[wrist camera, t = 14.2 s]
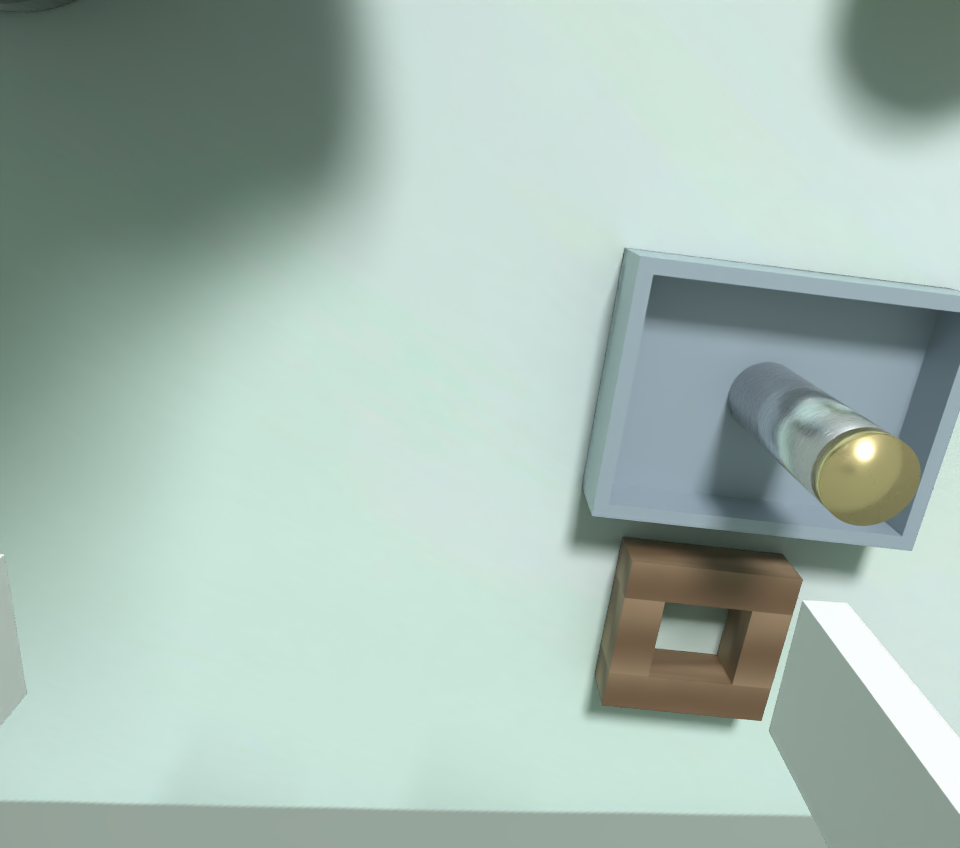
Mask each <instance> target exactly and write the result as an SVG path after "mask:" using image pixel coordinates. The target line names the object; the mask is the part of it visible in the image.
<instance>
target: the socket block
mask: <svg viewBox="0 0 960 848" xmlns="http://www.w3.org/2000/svg"><path fill="white" fill-rule="evenodd" d="M802 581H803V579H802V578H801V577H800V575H799V574H798V573H797V572H796V570H795V569H794V568H793V567H792V565H791V564H790V563H789V562H788V560H787V559H786V558H785V557H784V555H783V554H774V553H765V552H755V551H746V550H737V549H728V548H718V547H709V546H700V545H691V544H681V543H672V542H663V541H654V540H644V539H635V538H626V537H623V538H622V543H621V548H620V553H619V558H618V563H617V567H616V572H615V577H614V582H613V587H612V592H611V597H610V602H609V607H608V612H607V617H606V622H605V627H604V632H603V637H602V642H601V646H600V651H599V656H598V661H597V666H596V671H595V677H596V681H597V686H598V690H599V694H600V698H601V702H602V705H604V706H614V707H624V708H634V709H645V710H655V711H665V712H675V713H685V714H696V715H706V716H716V717H726V718H736V719H747V720H757V721H761V720H762V717H763V714H764V710H765V707H766V703H767V700H768V697H769V693H770V690H771V686H772V683H773V680H774V676H775V673H776V669H777V666H778V662H779V659H780V656H781V652H782V649H783V645H784V642H785V639H786V635H787V632H788V628H789V625H790V622H791V618H792V615H793V611H794V608H795V604H796V601H797V598H798V594H799V591H800V587H801V584H802ZM665 602H669V603H679V604H688V605H698V606H707V607H717V608H727V609H729V612H728V616H727V619H726V623H725V627H724V631H723V635H722V639H721V642H720V646H719V650H718V654H717V655H714V654H704V653H694V652H685V651H675V650H665V649H655V644H656V640H657V636H658V631H659V627H660V623H661V618H662V614H663V610H664V605H665Z"/></svg>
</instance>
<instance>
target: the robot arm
mask: <svg viewBox="0 0 960 848" xmlns="http://www.w3.org/2000/svg"><path fill="white" fill-rule="evenodd" d="M72 1H75V0H0V10H3V11H13V12H28V11H39V10H46V9H51V8H55V7H58V6H62V5H64V4H67V3H70V2H72ZM26 694H27V691H26V685H25V679H24V673H23V667H22V660H21V654H20V648H19V642H18V636H17V630H16V623H15V617H14V611H13V605H12V599H11V593H10V587H9V580H8V574H7V568H6V562H5V556H4V555H3V554H0V726H1V725H2V724H3V723H4V721H5V720H6V719H7V718H8V716H9V715H10V714H11V713H12V711H13V710H14V709H15V708H16V707H17V705H18V704H19V703H20V702H21V700H22V699H23V698H24V697H25V695H26ZM769 733H770V735H771V737H772V738H773V740H774V742H775V744H776V746H777V748H778V750H779V752H780V754H781V756H782V758H783V760H784V762H785V764H786V766H787V768H788V770H789V772H790V774H791V776H792V777H793V779H794V781H795V783H796V785H797V787H798V789H799V791H800V793H801V795H802V797H803V799H804V801H805V803H806V805H807V807H808V809H809V811H810V813H811V815H812V817H813V818H814V820H815V822H816V824H817V826H818V828H819V830H820V832H821V834H822V836H823V838H824V840H825V842H826V844H827V846H828V848H960V739H959V737H958V736H957V735H956V734H955V733H954V731H953V730H952V729H951V728H950V726H949V725H948V724H947V723H946V722H945V720H944V719H943V718H942V717H941V716H940V714H939V713H938V712H937V711H936V710H935V708H934V707H933V706H932V705H931V704H930V702H929V701H928V700H927V699H926V698H925V696H924V695H923V694H922V693H921V691H920V690H919V689H918V688H917V687H916V685H915V684H914V683H913V682H912V681H911V679H910V678H909V677H908V676H907V675H906V673H905V672H904V671H903V670H902V669H901V667H900V666H899V665H898V664H897V662H896V661H895V660H894V659H893V658H892V656H891V655H890V654H889V653H888V652H887V650H886V649H885V648H884V647H883V646H882V644H881V643H880V642H879V641H878V640H877V638H876V637H875V636H874V635H873V634H872V632H871V631H870V630H869V629H868V627H867V626H866V625H865V624H864V623H863V621H862V620H861V619H860V618H859V617H858V615H857V614H856V613H855V612H854V611H853V609H852V608H851V607H850V606H849V605H848V603H841V602H823V601H806V600H802V604H801V608H800V612H799V616H798V620H797V623H796V627H795V631H794V635H793V639H792V643H791V647H790V650H789V654H788V658H787V662H786V666H785V670H784V674H783V678H782V681H781V685H780V689H779V693H778V697H777V701H776V705H775V708H774V712H773V716H772V720H771V724H770V728H769Z"/></svg>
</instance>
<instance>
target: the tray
mask: <svg viewBox="0 0 960 848" xmlns="http://www.w3.org/2000/svg"><path fill="white" fill-rule="evenodd" d="M762 362H774V363H778V364H781V365H783V366H785V367H787V368H789V369H790V370H792V371H793V372H795V373H796V374H798V375H800V376H801V377H803V378H804V379H806V380H807V381H809V382H811V383H812V384H814V385H815V386H817V387H818V388H820V389H821V390H823V391H825V392H826V393H828V394H829V395H831V396H832V397H834V398H836V399H837V400H839V401H840V402H842V403H843V404H845V405H847V406H848V407H850V408H851V409H853V410H854V411H856V412H857V413H859V414H861V415H862V416H864V417H865V418H867V419H868V420H870V421H872V422H873V423H875V424H876V425H878V426H879V427H881V428H883V429H884V430H886V431H887V432H889V433H890V434H892V435H894V436H895V437H897V438H898V439H900V440H901V441H903V442H904V443H906V444H907V445H908V446H909V447H910V448H911V449H912V450H913V451H914V452H915V454H916V456H917V458H918V461H919V464H920V470H921V476H920V483H919V486H918V489H917V491H916V494H915V495H914V497H913V499H912V500H911V502H910V503H909V504H908V505H907V506H906V507H905V508H904V509H903V510H902V511H901V512H900V513H899V514H897V515H896V516H894V517H893V518H891V519H889V520H887V521H884V522H882V523H879V524H875V525H870V526H856V525H851V524H847V523H845V522H843V521H840V520H839V519H837V518H836V517H835V516H833V515H832V514H831V513H830V512H829V511H828V510H827V509H826V508H825V507H824V506H823V505H822V504H821V503H820V502H819V501H818V500H817V499H816V498H815V497H814V496H813V495H812V494H811V493H810V492H809V491H808V490H806V489H805V488H804V487H803V486H802V485H801V484H800V483H799V482H798V481H797V480H796V479H795V478H794V477H793V476H792V475H791V474H790V473H789V472H788V471H787V470H786V469H785V468H784V467H783V466H782V465H781V464H780V463H779V462H778V461H777V460H776V459H774V458H773V457H772V456H771V455H770V454H769V453H768V452H767V451H766V450H765V449H764V448H763V447H762V446H761V445H760V444H759V443H758V442H757V441H756V440H755V439H754V438H753V437H752V436H751V435H750V434H749V433H748V432H747V431H746V430H745V429H744V428H742V427H741V426H740V425H739V424H738V423H737V422H736V421H735V419H734V418H733V417H732V415H731V413H730V411H729V407H728V394H729V390H730V387H731V385H732V383H733V382H734V380H735V379H736V377H737V376H738V375H739V374H740V373H741V372H742V371H744V370H745V369H746V368H748V367H750V366H752V365H754V364H757V363H762ZM959 411H960V291H958V290H954V289H950V288H942V287H934V286H926V285H918V284H910V283H902V282H894V281H886V280H878V279H870V278H862V277H854V276H846V275H838V274H830V273H822V272H814V271H806V270H798V269H790V268H782V267H774V266H766V265H758V264H750V263H742V262H734V261H726V260H718V259H710V258H702V257H694V256H686V255H678V254H670V253H662V252H654V251H646V250H638V249H630V248H625V250H624V256H623V261H622V267H621V272H620V278H619V284H618V289H617V295H616V300H615V306H614V312H613V317H612V323H611V328H610V334H609V339H608V345H607V351H606V356H605V362H604V367H603V373H602V378H601V384H600V390H599V395H598V401H597V406H596V412H595V418H594V423H593V429H592V434H591V440H590V445H589V451H588V457H587V462H586V468H585V473H584V479H583V485H582V488H583V491H584V494H585V497H586V500H587V503H588V506H589V509H590V512H591V515H592V516H596V517H605V518H614V519H624V520H633V521H642V522H651V523H660V524H669V525H679V526H688V527H697V528H706V529H715V530H724V531H734V532H743V533H752V534H761V535H770V536H779V537H789V538H798V539H807V540H816V541H825V542H835V543H844V544H853V545H862V546H871V547H880V548H890V549H899V550H908V551H912V549H913V546H914V543H915V540H916V537H917V534H918V531H919V529H920V526H921V523H922V520H923V517H924V514H925V511H926V508H927V505H928V502H929V499H930V496H931V493H932V490H933V487H934V485H935V482H936V479H937V476H938V473H939V470H940V467H941V464H942V461H943V458H944V455H945V452H946V449H947V446H948V443H949V441H950V438H951V435H952V432H953V429H954V426H955V423H956V420H957V417H958V414H959Z"/></svg>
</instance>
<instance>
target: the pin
mask: <svg viewBox="0 0 960 848" xmlns="http://www.w3.org/2000/svg"><path fill="white" fill-rule="evenodd" d="M728 407H729V411H730V413H731V415H732V417H733V418H734V419H735V421H736V422H737V423H738V424H739V425H740V426H741V427H742V428H744V429H745V430H746V431H747V432H748V433H749V434H750V435H751V436H752V437H753V438H754V439H755V440H756V441H757V442H758V443H759V444H760V445H761V446H762V447H763V448H764V449H765V450H766V451H767V452H768V453H769V454H770V455H771V456H772V457H773V458H774V459H776V460H777V461H778V462H779V463H780V464H781V465H782V466H783V467H784V468H785V469H786V470H787V471H788V472H789V473H790V474H791V475H792V476H793V477H794V478H795V479H796V480H797V481H798V482H799V483H800V484H801V485H802V486H803V487H804V488H805V489H806V490H808V491H809V492H810V493H811V494H812V495H813V496H814V497H815V498H816V499H817V500H818V501H819V502H820V503H821V504H822V505H823V506H824V507H825V508H826V509H827V510H828V511H829V512H830V513H831V514H832V515H833V516H835V517H836V518H837V519H839V520H840V521H843V522H845V523H847V524H851V525H856V526H870V525H875V524H879V523H882V522H884V521H887V520H889V519H891V518H893V517H894V516H896V515H897V514H899V513H900V512H901V511H902V510H903V509H904V508H905V507H906V506H907V505H908V504H909V503H910V502H911V500H912V499H913V497H914V495H915V494H916V491H917V489H918V486H919V483H920V476H921V470H920V464H919V461H918V458H917V456H916V454H915V452H914V451H913V450H912V449H911V448H910V447H909V446H908V445H907V444H906V443H904V442H903V441H901V440H900V439H898V438H897V437H895V436H894V435H892V434H890V433H889V432H887V431H886V430H884V429H883V428H881V427H879V426H878V425H876V424H875V423H873V422H872V421H870V420H868V419H867V418H865V417H864V416H862V415H861V414H859V413H857V412H856V411H854V410H853V409H851V408H850V407H848V406H847V405H845V404H843V403H842V402H840V401H839V400H837V399H836V398H834V397H832V396H831V395H829V394H828V393H826V392H825V391H823V390H821V389H820V388H818V387H817V386H815V385H814V384H812V383H811V382H809V381H807V380H806V379H804V378H803V377H801V376H800V375H798V374H796V373H795V372H793V371H792V370H790V369H789V368H787V367H785V366H783V365H781V364H778V363H774V362H762V363H757V364H754V365H752V366H750V367H748V368H746V369H745V370H744V371H742V372H741V373H740V374H739V375H738V376H737V377H736V379H735V380H734V382H733V383H732V385H731V387H730V390H729V394H728Z"/></svg>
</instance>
